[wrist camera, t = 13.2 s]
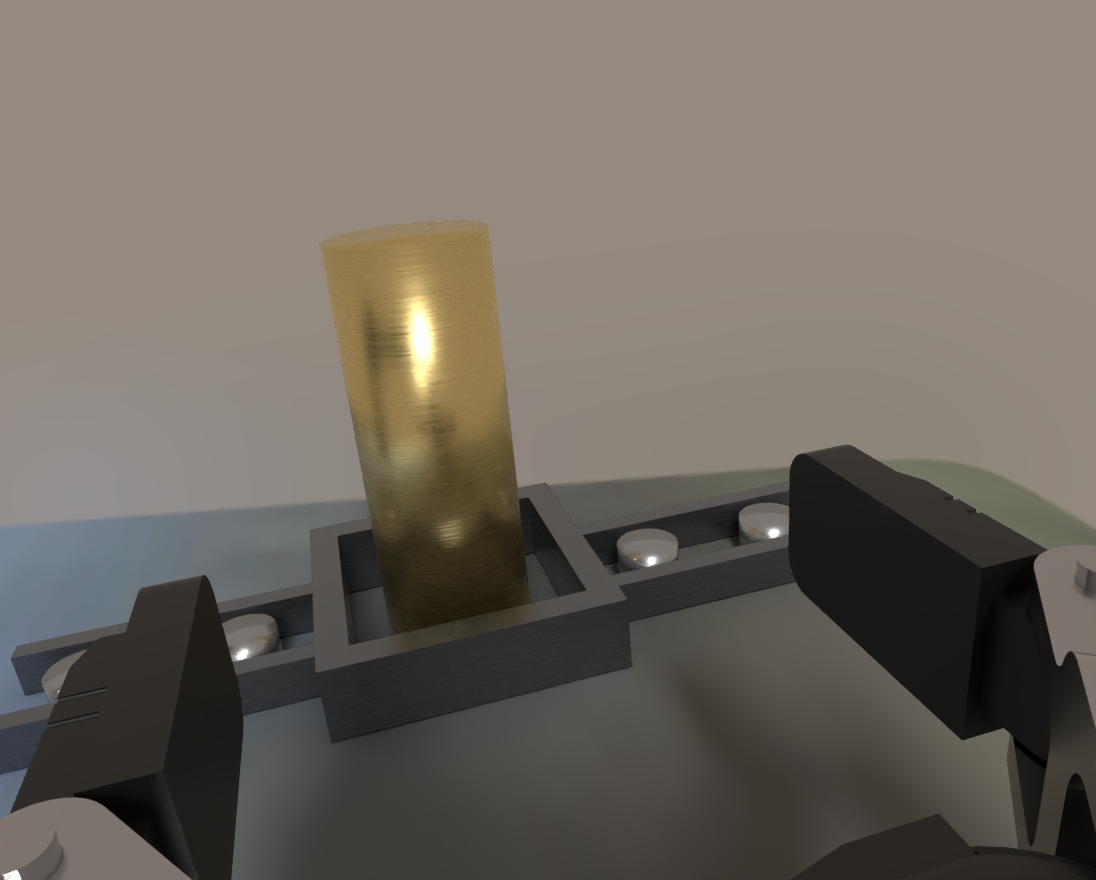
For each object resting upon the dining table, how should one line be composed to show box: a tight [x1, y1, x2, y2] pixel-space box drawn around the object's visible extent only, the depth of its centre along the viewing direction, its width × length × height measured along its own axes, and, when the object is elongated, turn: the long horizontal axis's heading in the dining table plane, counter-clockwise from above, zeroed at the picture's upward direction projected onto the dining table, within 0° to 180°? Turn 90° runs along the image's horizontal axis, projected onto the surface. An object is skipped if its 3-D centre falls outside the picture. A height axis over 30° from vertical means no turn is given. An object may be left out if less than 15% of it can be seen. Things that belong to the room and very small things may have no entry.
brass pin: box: [320, 221, 530, 635], centre depth 22 cm, size 4×4×11 cm
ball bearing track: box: [0, 481, 795, 773], centre depth 24 cm, size 24×8×2 cm, turn 106°
